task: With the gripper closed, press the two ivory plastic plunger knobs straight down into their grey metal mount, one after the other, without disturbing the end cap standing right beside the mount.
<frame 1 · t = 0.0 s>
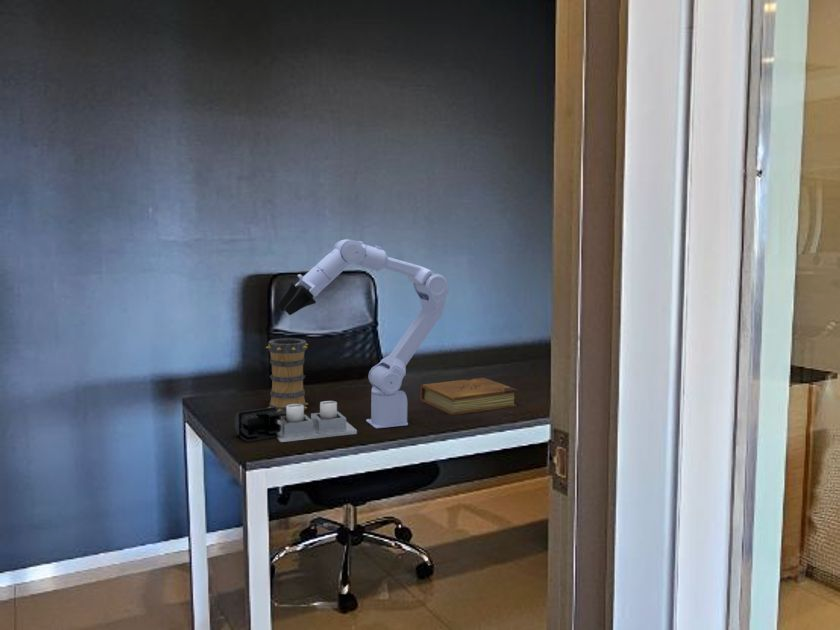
hand: (283, 310, 185), 32 cm above the table, tool tilted 50°, fingers open, 7 cm apart
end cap: (258, 436, 188), on the table, touching mount
knob 2: (328, 410, 195), point 5 cm above the table, slide at 0.0 cm
mount: (311, 430, 194), on the table
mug: (285, 408, 216), on the table
diary: (467, 405, 225), on the table
knob 1: (295, 413, 191), point 5 cm above the table, slide at 0.0 cm
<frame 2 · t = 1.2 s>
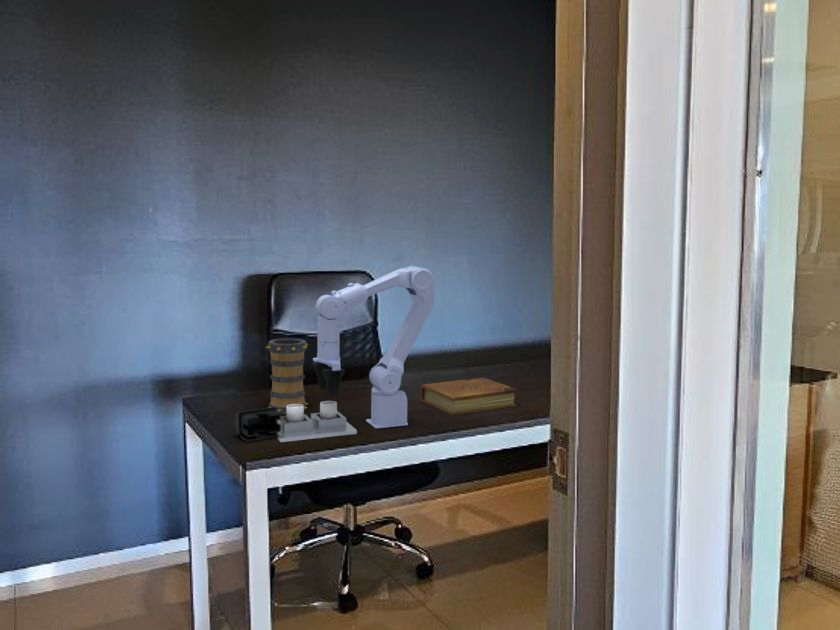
hand: (328, 392, 194), 10 cm above the table, tool pointing down, fingers open, 7 cm apart
nothing on the table moved.
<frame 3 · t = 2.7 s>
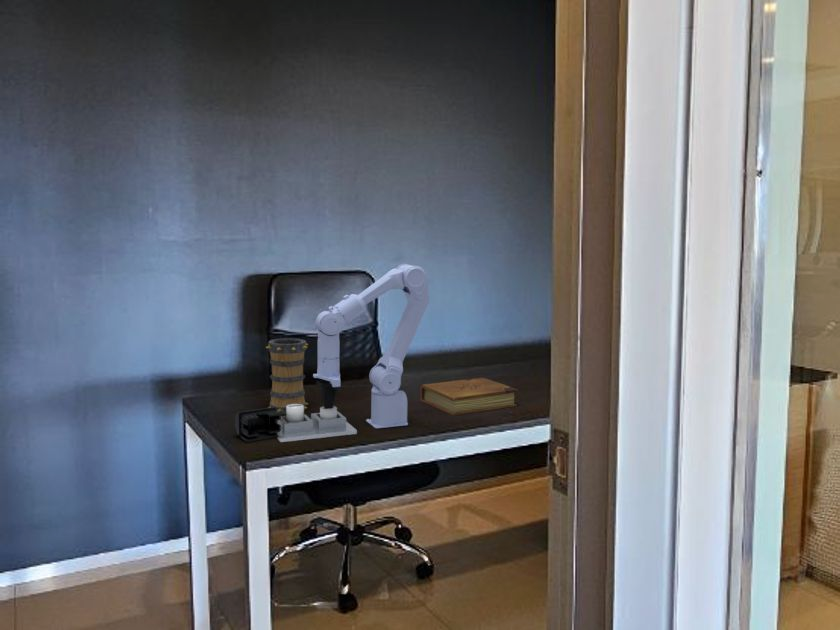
hand: (328, 407, 195), 6 cm above the table, tool pointing down, fingers closed, pressing on knob 2
knob 2: (328, 415, 195), point 4 cm above the table, slide at 1.4 cm, touching gripper
everything else where it was.
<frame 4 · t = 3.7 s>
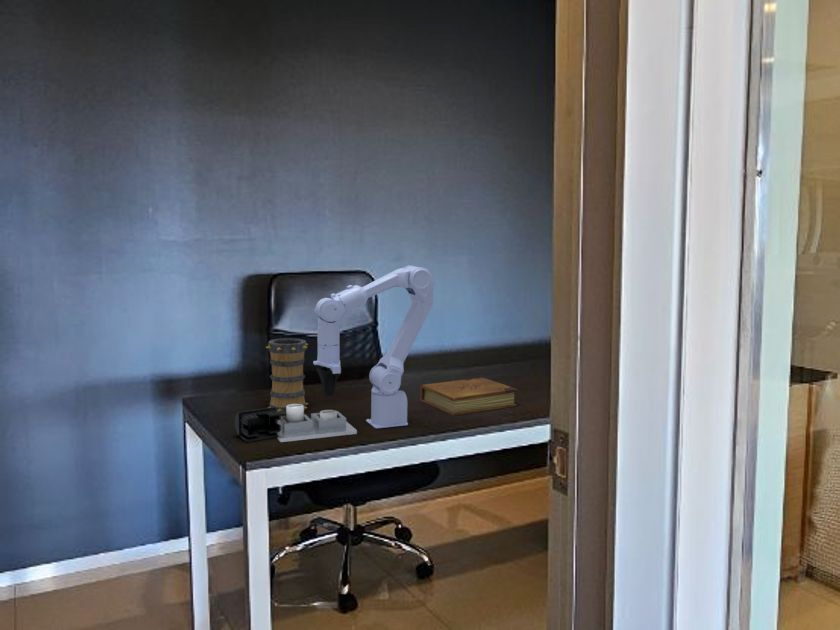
hand: (328, 395, 194), 9 cm above the table, tool pointing down, fingers closed
knob 2: (328, 419, 195), point 2 cm above the table, slide at 2.5 cm
everything else where it was.
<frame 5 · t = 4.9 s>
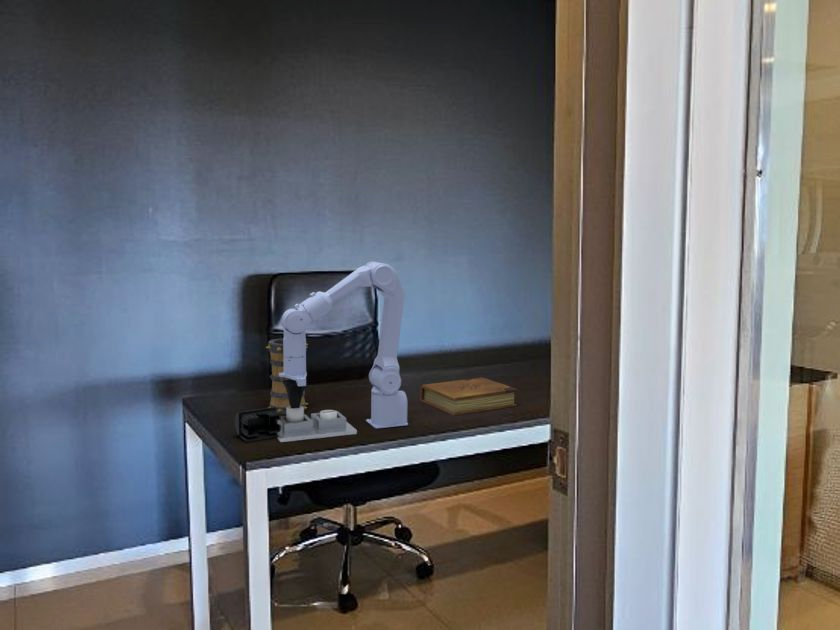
hand: (294, 407, 191), 7 cm above the table, tool pointing down, fingers closed, pressing on knob 1
knob 1: (295, 415, 191), point 4 cm above the table, slide at 0.5 cm, touching gripper
everything else where it was.
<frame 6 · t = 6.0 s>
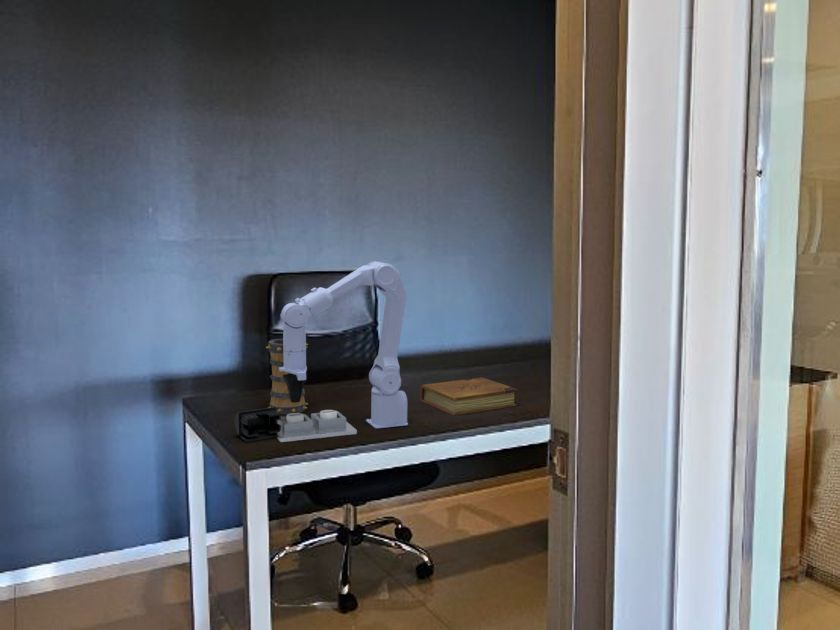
hand: (295, 401, 191), 8 cm above the table, tool pointing down, fingers closed
knob 1: (295, 422, 191), point 2 cm above the table, slide at 2.5 cm
everything else where it was.
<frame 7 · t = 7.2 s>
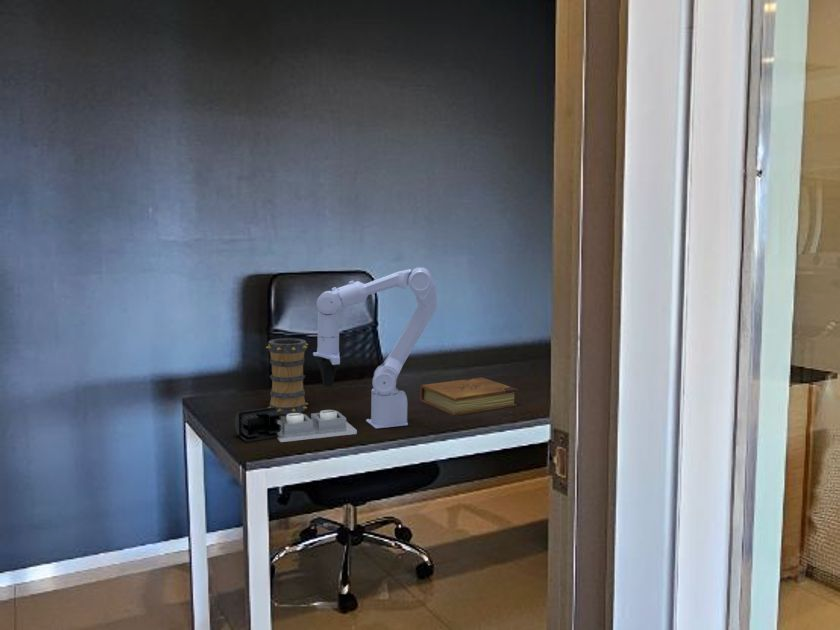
hand: (327, 385, 199), 10 cm above the table, tool pointing down, fingers closed
nothing on the table moved.
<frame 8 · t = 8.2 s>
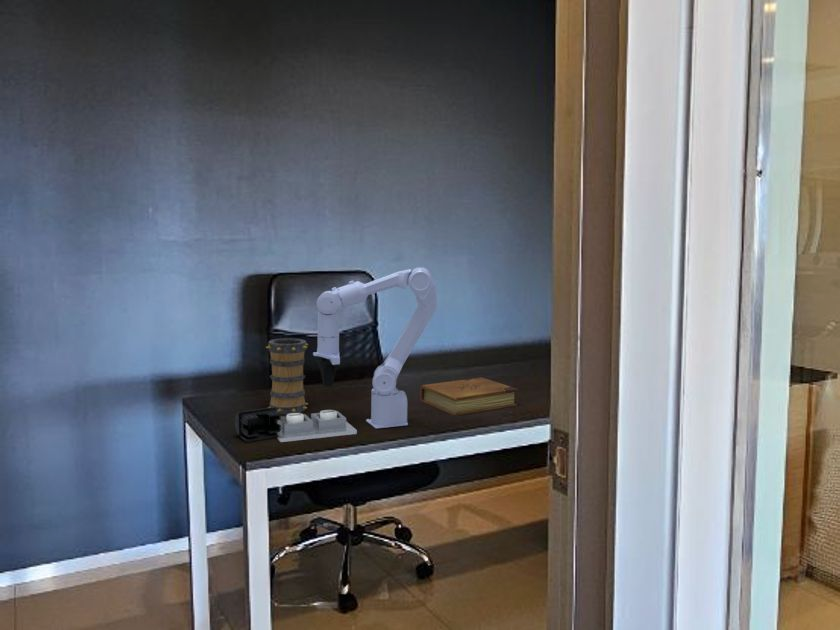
hand: (327, 385, 199), 10 cm above the table, tool pointing down, fingers closed
nothing on the table moved.
at the end: knob 2 slide at 2.5 cm; knob 1 slide at 2.5 cm; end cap moved 0.2 cm from its start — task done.
